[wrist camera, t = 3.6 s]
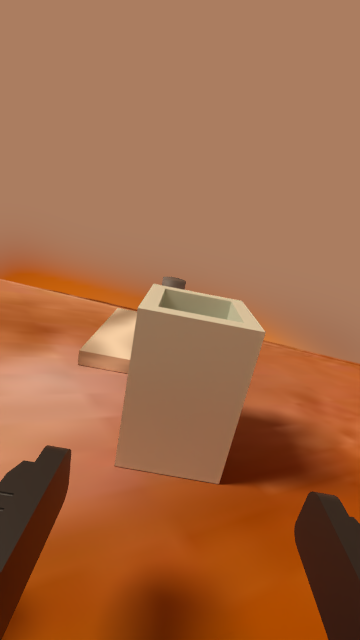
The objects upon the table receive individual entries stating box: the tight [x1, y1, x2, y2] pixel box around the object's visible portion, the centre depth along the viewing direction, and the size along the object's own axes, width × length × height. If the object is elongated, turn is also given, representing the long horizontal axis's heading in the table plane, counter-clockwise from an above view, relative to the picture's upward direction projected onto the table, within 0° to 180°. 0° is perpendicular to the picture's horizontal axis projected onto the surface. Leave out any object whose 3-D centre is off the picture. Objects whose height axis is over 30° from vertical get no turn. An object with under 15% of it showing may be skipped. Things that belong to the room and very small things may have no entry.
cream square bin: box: [115, 284, 265, 484], centre depth 18 cm, size 6×6×10 cm
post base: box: [78, 277, 186, 374], centre depth 33 cm, size 15×15×8 cm
